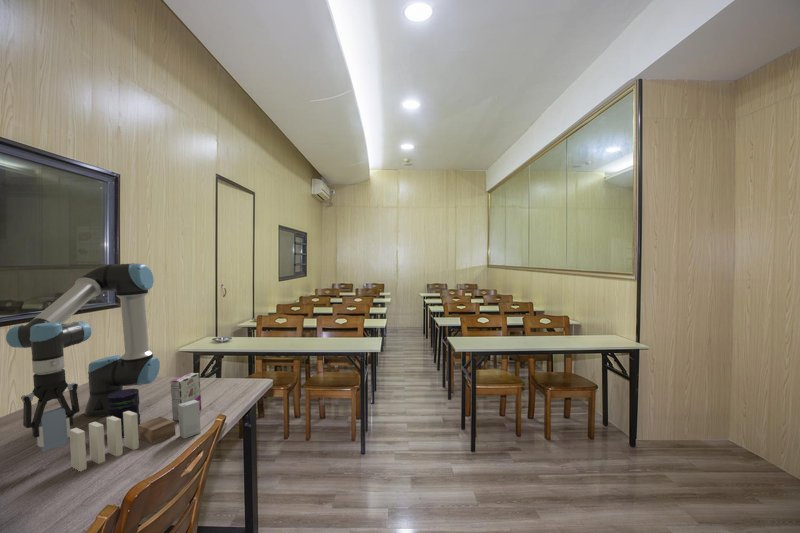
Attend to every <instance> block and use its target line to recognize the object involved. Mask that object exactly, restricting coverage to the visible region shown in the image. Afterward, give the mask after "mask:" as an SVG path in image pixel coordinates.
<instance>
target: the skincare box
mask: <svg viewBox="0 0 800 533" xmlns="http://www.w3.org/2000/svg"><path fill="white" fill-rule="evenodd" d="M178 413H179V421H178V424H179V425H178V426H179V436H180V437H181V438H182V439H187V438H190V437H192V436H195V435H198V434H200V433H201V414H200V411H199V402H198V401H196V400H192V401H188V402H185V403H182V404H178Z"/></svg>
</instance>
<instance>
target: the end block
mask: <svg viewBox="0 0 800 533" xmlns="http://www.w3.org/2000/svg"><path fill="white" fill-rule="evenodd" d="M174 436H176V421H175V420H173V419H168V418H166V417H162V416H159V417H156V418H153V419H150V420H148V421H145V422H142V423H141V422H140V424H139V425H138V439H139V440H142V441H144V442H146V443H148V444H151V445H154V444H157V443H160V442H161V441H165V440H166V439H169V438H172V437H174Z"/></svg>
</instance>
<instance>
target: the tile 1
mask: <svg viewBox="0 0 800 533" xmlns="http://www.w3.org/2000/svg"><path fill="white" fill-rule="evenodd" d="M69 444H70V445H69V448H70V465H71V466H72V467H73V468H72V467H71V468H72V469H74V468H75V469H74V470H76V469H77V470H78V472H79V471H80V472H83V471H84V469H85V470H87V451H86V432H85V430H83V429H80V428H78V427H74V428H70V437H69ZM77 470H76V471H77ZM82 470H83V471H82Z"/></svg>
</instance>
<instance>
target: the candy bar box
mask: <svg viewBox="0 0 800 533" xmlns="http://www.w3.org/2000/svg"><path fill="white" fill-rule="evenodd" d="M200 380H201V379H200V372H189V373H187V374H185V375H182V376H180V377H177V378H176V379H173V380H171V381H170V394H171V396H170V397H171V410H172V411H171V414H172V421H175V422H176V421H178V422H179V413H178V404H182V403H185V402H188V401H192V400H196V401H198V402H199V411H202V399H201V398H202V396H201V395H202V394H201V381H200Z"/></svg>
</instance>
